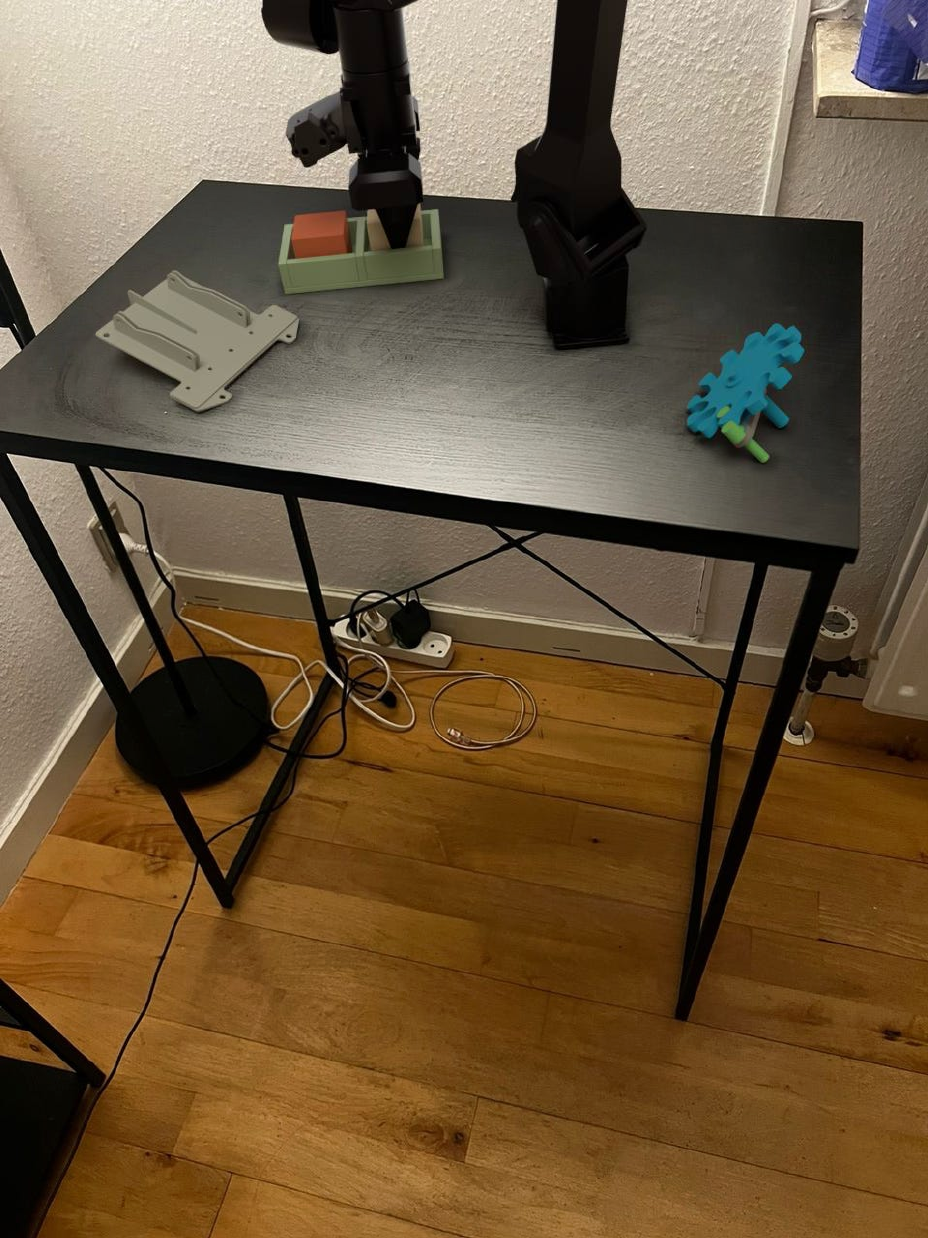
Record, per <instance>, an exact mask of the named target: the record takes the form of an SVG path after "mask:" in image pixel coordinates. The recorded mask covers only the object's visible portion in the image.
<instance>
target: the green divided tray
mask: <svg viewBox="0 0 928 1238" xmlns="http://www.w3.org/2000/svg"><path fill="white" fill-rule="evenodd" d="M421 215H422V223H423V232H424V246H420V247H410V248H400V249H390V250H380V251H371V247H370V240H369V234H368V228H367V216H358V217H356V216H355V217H347V221H348V227H349V233H350V238H351V244H352V253H349V254H340V255H330V256H320V257H310V258H300V259H295V254H294V250H293V246H292V241H291V238H292V232H293V225H294V223H286V224H284V226H283V234H282V240H281V247H280V251H279V258H278V265H277V266H278V270H279V274H280V278H281V282H282V286H283V289H284V290H283V291H284V295H293V294H303V293H304V294H305V293H312V292H313V293H314V292H323V291H333V290H343V289H354V288H364V287H373V286H383V285H393V284H403V283H412V282H413V283H414V282H422V281H423V282H424V281H433V280H443V279H445V276H444V262H443V261H444V259H443V248H442V247H443V246H442V233H441V226H440V225H441V224H440V213H439V209H438V208H435V209H427V210H426V209H424V210H421Z"/></svg>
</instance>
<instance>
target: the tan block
mask: <svg viewBox="0 0 928 1238" xmlns="http://www.w3.org/2000/svg"><path fill="white" fill-rule="evenodd" d="M421 207H422V205H421V203H420V204H418V206H417V209H416V213H415V216H414V219H413V223H412V226H411V230H410V233H409V237H408V241H407V244H406V248H410V247H420V246H424V232H423V223H422V215H421V211H422V208H421ZM366 213H367V228H368V234H369V240H370V247H371V251H380V250H390V249H391V247H390V244H389V242H388V239H387V237H386V234H385V232H384V229H383V227H382V225H381V222H380V220H379V217H378V215H377V213H376V211H375V209H371V210H367V212H366Z"/></svg>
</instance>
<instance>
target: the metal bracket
mask: <svg viewBox="0 0 928 1238" xmlns="http://www.w3.org/2000/svg"><path fill="white" fill-rule="evenodd" d="M127 296H128V297H127V298H128V300H129V303H130V306H128V307H127V308H126V309H124V310H119V311H118V312H117V313H115V314H114V315H113V316H112V319H111V320H110V321H109V322H108V323H106V324H105V325H103V326H102V327H101V328H100V329H99V330H97V331H96V332H95V337H96V338H97V339H99V340H101V341H103V342H105V343H107V344H109V345H111V346H112V347H114V348H116V349H118V350H120V351H121V352H124V353H125V354H127V355H129V356H131V357H133V358H134V359H137V360H138V361H141V362H142V363H144V364H146V365H148V366H149V367H152V368H154V369H155V370H157V371H159V372H161V373H163V374H165V375H167V376H169V377H171V378H172V379H174V380H176V381H178V382H179V383H180V384H178V385H177V386H176V387H175V388H173V390H172V391H170V393H169V396H170V398H171V399H173V400H174V401H176V402H178V403H180V404H182V405H184V406H186V407H187V408H189V409H191V410H193V411H195V412H197V413H200V412H203V411H206V410H209V409H212V408H215V407H218V406H221V405H224V404H227V403H229V402H230V401H231V400H232V399H233V395H232V393H231V392H229V391H227V390H226V389H225V388H226V387H228V386H229V385H230V384H231V383H233V381H235V379H236V378H237V377H239V375H241V374H242V373H243V372H244V371H245V370H246V369H248V368H249V366H251V365H252V364H253V363H254V362H255V361H256V360H257V359H259V358H260V357H261V355H263V354H264V353H266V351H267V350H269V348H271V346H273V345H274V344H275V343H276V342H278V341H281V342H284V343H285V344H289V345H290V344H292V343H294V342H295V341H296V339H297V333H298V328H299V324H300V319H299V318H298V316H297V315H296V314H294V313H292V312H290V311H288V310H286V309H284V308H282V307H280V306H279V305H276V304H272V305H270V306H268V307H267V308H266V309H265V310H264V311H263V312H262V313H260V314H258V313H256V312H253V311H252V310H249V308H248V307H247V306H246V305H244V304H242V303H240V302H238V301H236V300H234V299H233V298H230V297H229V296H226V295H224V294H223V293H220V292H219V291H217V290H214V289H211V288H208V287H205V286H203V285H201V284H199V283H197V282H195V281H193V280H191V279H189V278H187V277H185V276H183V275H182V273H180V272H179V271H178V270H172V271H170V273H167V276H166V279H164V280H163V281H161V282H160V283H159V284H158V285H156V286H155V287H154V288H152V289H151V290H150V291H148V292H147V293H145V295H143V296H142V295H140V294H139V293H136V292H135V291H133V290H131V289H129V290H128V291H127ZM288 336H289V337H288ZM221 397H224V398H221Z"/></svg>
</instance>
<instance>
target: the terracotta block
mask: <svg viewBox="0 0 928 1238" xmlns="http://www.w3.org/2000/svg"><path fill="white" fill-rule="evenodd" d="M347 215H348V214H347V211H346V209H345V210H336V211H334V210H333V211H325V212H314V213H306V214H296V215H294V220H293V224H294V225H293V232H292V238H291V241H292V246H293V250H294V254H295V259H300V258H310V257H320V256H330V255H340V254H349V253H352V244H351V238H350V233H349V227H348V221H347V218H348V217H347Z"/></svg>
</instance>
